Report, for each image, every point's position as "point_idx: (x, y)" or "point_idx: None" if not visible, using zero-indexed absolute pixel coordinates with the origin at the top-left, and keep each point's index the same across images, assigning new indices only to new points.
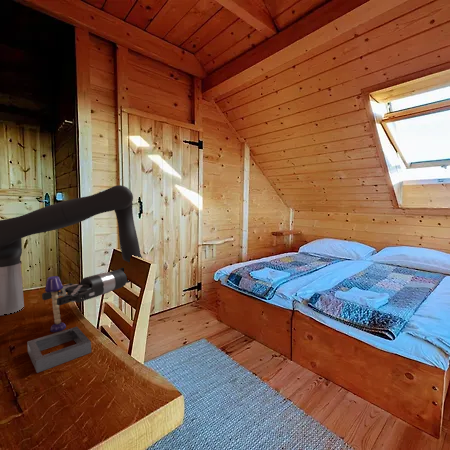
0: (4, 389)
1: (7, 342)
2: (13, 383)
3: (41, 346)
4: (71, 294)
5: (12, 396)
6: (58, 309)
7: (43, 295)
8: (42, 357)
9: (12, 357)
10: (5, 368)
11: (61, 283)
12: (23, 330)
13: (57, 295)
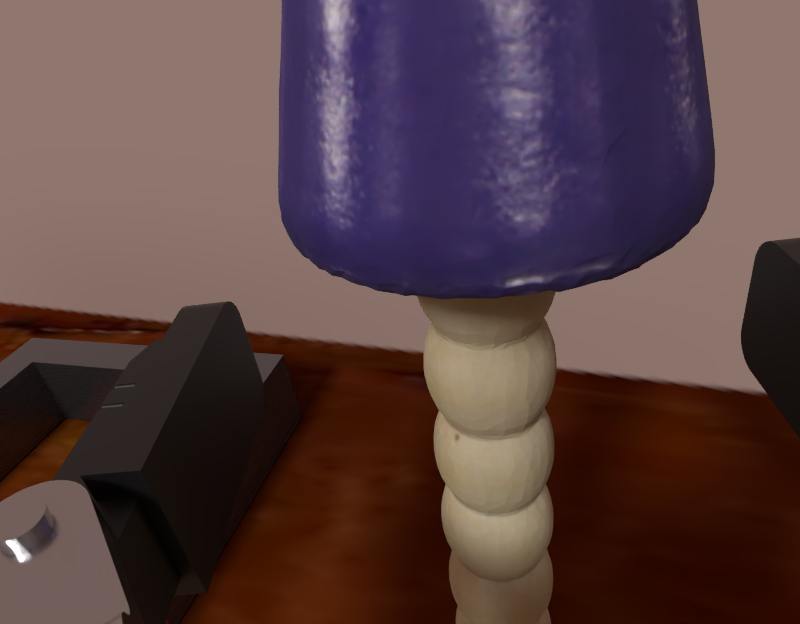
0: (121, 316)
1: (587, 382)
2: (116, 335)
3: None
4: (48, 492)
5: (53, 323)
6: (460, 567)
7: (758, 267)
8: (17, 358)
9: (336, 365)
10: (262, 335)
11: (385, 115)
12: (778, 493)
13: (439, 358)
